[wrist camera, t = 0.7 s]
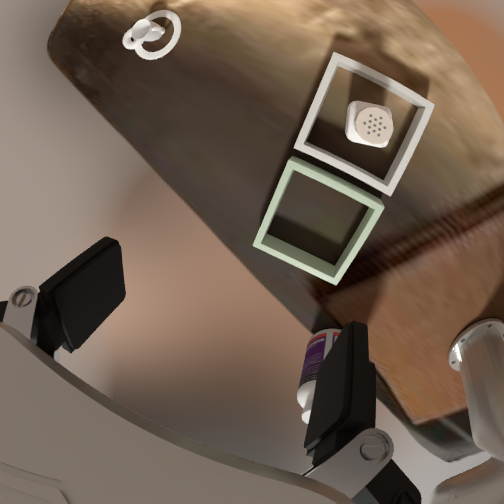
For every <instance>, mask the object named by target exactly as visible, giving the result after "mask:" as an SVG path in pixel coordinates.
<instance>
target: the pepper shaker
mask: <svg viewBox="0 0 504 504" xmlns="http://www.w3.org/2000/svg"><path fill="white" fill-rule="evenodd" d="M393 130H394V129H393V121H392V114H391V111H390V109H388V108H387V107H384V106H380V105H376V104H372V103H367V102H362V101H353V102H351V103H350V104H349V106H348V108H347V118H346V127H345V133H346V136H347V138H348V139H349V140H351V141H352V142H357V143H361V144H366V145H371V146H375V147H380V148H382V147H386V145H387V144H388V141H389V139H390V137H391V135H392V133H393Z"/></svg>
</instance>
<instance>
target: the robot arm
mask: <svg viewBox="0 0 504 504" xmlns="http://www.w3.org/2000/svg"><path fill="white" fill-rule="evenodd" d="M39 289H40V292H39V293H37V290H36V289H35V288H34V287H31V286H23V287H20V288H18V289H17V290H15V291H14V292H13V293H12V294H11V296H10V298H9V301H2V302H0V504H421V494H420V492H419V490H418V489H417V488H416V486H415V485H414V484H413V483H412V482H411V481H410V480H409V478H408V477H407V476H406V475H405V474H404V473H403V471H402V470H401V469H400V468H399V467H398V466H397V464H396V463H395V462H394V461H393V460H392V459H391V457H392V455H393V452H394V446H393V442H392V439H391V438H390V437H389V435H388V434H387V433H386V432H384V431H382V430H380V429H377V428H375V419H376V369H375V364H374V363H372V362H369V350H368V327H367V325H366V324H362V323H359V322H356V321H352V322H351V323H350V324H348V323H346V324H345V325H344V327H343V329H342V330H341V332H340V334H339V336H338V337H337V339H336V341H335V342H334V344H333V346H332V347H331V349H330V351H329V352H328V354H327V355H326V357H325V359H324V360H323V362H322V363H321V365H320V367H319V369H318V373H317V379H316V385H315V391H314V396H313V402H312V407H311V413H310V418H309V423H308V428H307V433H306V438H305V442H304V448H307V449H308V450H307V454H306V455H307V456H312V457H313V462H312V464H313V467H311V468H310V469H309V470H307V471H306V472H304V473H303V474H301V475H299V474H296V473H292V472H288V471H285V470H281V469H278V468H274V467H270V466H267V465H263V464H260V463H256V462H253V461H250V460H247V459H244V458H241V457H237V456H235V455H232V454H229V453H226V452H223V451H220V450H217V449H214V448H212V447H209V446H206V445H204V444H201V443H199V442H196V441H194V440H191V439H189V438H186V437H184V436H182V435H180V434H177V433H175V432H173V431H171V430H169V429H167V428H165V427H162V426H160V425H158V424H156V423H154V422H152V421H150V420H148V419H146V418H144V417H142V416H141V415H139V414H137V413H135V412H133V411H131V410H130V409H128V408H126V407H124V406H122V405H121V404H119V403H117V402H115V401H114V400H112V399H111V398H109V397H107V396H106V395H104V394H102V393H101V392H99V391H98V390H96V389H95V388H93V387H92V386H90V385H89V384H87V383H86V382H84V381H83V380H81V379H80V378H78V377H77V376H75V375H74V374H72V373H71V372H70V371H68V370H67V369H66V368H64V367H63V366H62V365H60V364H59V363H58V360H59V359H58V358H59V347H60V346H61V345H62V347H63V348H64V349H65V350H67V351H69V353H72V352H73V351H74V350H75V349H78V348H80V347H81V345H82V344H83V343H84V342H85V341H86V340H87V339H88V338H89V337H90V335H91V334H92V333H93V332H94V331H95V330H96V329H97V328H98V327H99V326H100V325H101V324H102V322H103V321H104V320H105V319H106V318H107V317H108V316H109V315H110V314H111V313H112V312H113V311H114V309H116V307H118V305H119V304H120V303H121V302H122V301H123V300H124V298H125V295H126V291H125V284H124V274H123V264H122V252H121V246H120V245H119V242H118V241H117V240H115V239H112V238H110V237H104V238H102V239H101V240H99V241H98V242H97V243H95V244H94V245H92V246H91V247H90V248H88V249H87V250H86V251H84V252H83V253H81V254H80V255H79V256H77V257H76V258H75V259H73V260H72V261H71V262H69V263H68V264H67V265H65V266H64V267H63V268H61V269H60V270H59V271H58V272H56V273H55V274H54V275H53V276H51V277H50V278H49V279H48V280H46V281H45V282H44V283H43V284H41V285H40V286H39ZM448 359H449V363H450V366H451V367H452V368H453V369H454V370H456V371H460V373H461V377H462V381H463V386H464V390H465V395H466V400H467V405H468V411H469V417H470V423H471V430H472V436H473V440H474V442H475V444H476V445H477V446H478V447H479V448H480V449H482V450H484V451H486V452H488V453H490V454H491V458H490V459H489V460H488V461H486V462H484V463H482V464H481V465H479V466H476V467H474V468H472V469H470V470H468V471H465V472H463V473H461V474H458V475H456V476H453V477H451V478H449V479H447V480H445V481H443V482H441V483H440V484H439V485H438V486H437V487H436V488H435V489H434V491H433V493H432V495H431V498H430V501H429V504H504V323H503V321H501V320H500V319H496V318H489V319H484V320H481V321H479V322H477V323H474V324H473V325H471V326H470V327H468V328H467V329H466V330H464V331H463V332H462V333H461V334H460V335H459V336H458V337H457V338H456V340H455V341H454V342H453V344H452V346H451V348H450V350H449V354H448Z"/></svg>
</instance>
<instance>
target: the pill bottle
mask: <svg viewBox="0 0 504 504" xmlns="http://www.w3.org/2000/svg"><path fill="white" fill-rule="evenodd" d="M340 332H341V330H340V329H325V330H322V331H319V332H317V333H315V334H314V335H313V336H312V337H311V338H310V340H309V342H308V345H307V350H306V355H305V360H304V365H303V370H302V375H301V380H300V384H299V388H298V393H297V399H298V402H299V403H300V405H301V406H302V407H303V413H302V419H303V421H304V422H305V423H307V424H308V423H309V418H310V413H311V407H312V402H313V396H314V391H315V385H316V379H317V373H318V369H319V367H320V365H321V363H322V362H323V360H324V359H325V357H326V355H327V354H328V352H329V351H330V349H331V347H332V346H333V344H334V342H335V341H336V339H337V337H338V336H339V334H340Z"/></svg>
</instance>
